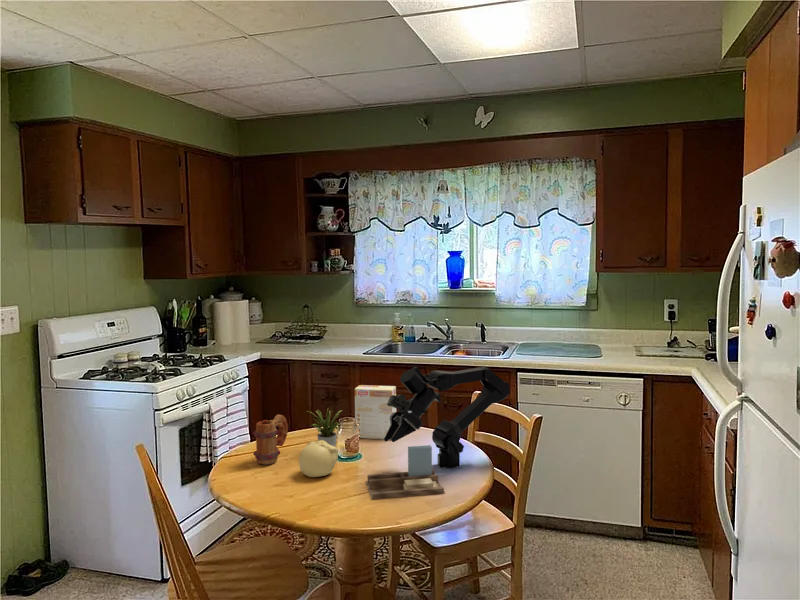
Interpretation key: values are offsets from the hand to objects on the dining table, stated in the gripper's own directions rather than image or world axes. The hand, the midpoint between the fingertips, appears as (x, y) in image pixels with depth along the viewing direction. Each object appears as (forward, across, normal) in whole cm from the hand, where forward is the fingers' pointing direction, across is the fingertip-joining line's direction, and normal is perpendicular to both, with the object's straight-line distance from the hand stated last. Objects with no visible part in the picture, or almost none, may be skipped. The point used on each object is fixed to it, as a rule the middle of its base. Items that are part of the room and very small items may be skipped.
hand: (388, 440), depth 189 cm
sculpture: (+21, -17, -7) cm, 28 cm away
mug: (+27, -34, -20) cm, 48 cm away
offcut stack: (+5, +7, +16) cm, 18 cm away
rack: (+8, +3, +13) cm, 15 cm away
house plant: (+13, -37, -8) cm, 40 cm away
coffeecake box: (-5, -48, +5) cm, 49 cm away
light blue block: (+3, +1, +16) cm, 16 cm away
